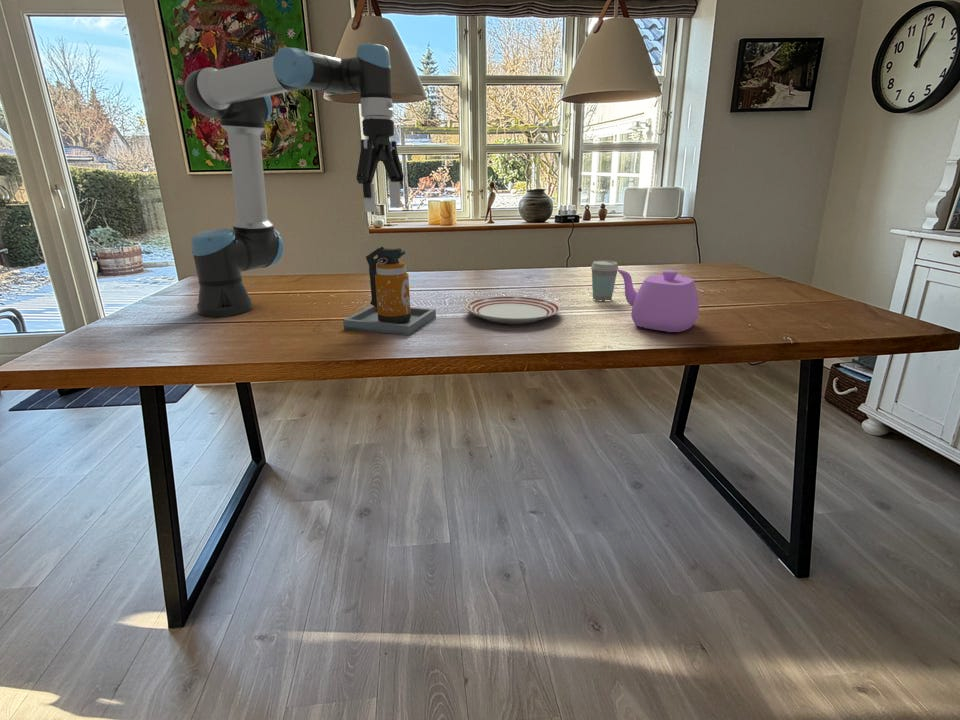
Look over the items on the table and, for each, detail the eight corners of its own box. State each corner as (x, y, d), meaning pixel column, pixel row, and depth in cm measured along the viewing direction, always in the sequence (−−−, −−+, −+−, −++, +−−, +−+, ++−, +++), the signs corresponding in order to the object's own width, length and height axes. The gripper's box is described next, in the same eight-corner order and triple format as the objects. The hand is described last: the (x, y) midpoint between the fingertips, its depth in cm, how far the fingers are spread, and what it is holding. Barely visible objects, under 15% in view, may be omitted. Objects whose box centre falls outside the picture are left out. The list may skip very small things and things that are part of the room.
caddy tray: (343, 328, 140) (343, 319, 139) (375, 312, 155) (375, 304, 154) (409, 335, 134) (409, 326, 133) (435, 317, 150) (435, 309, 149)
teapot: (706, 320, 147) (714, 266, 141) (685, 339, 130) (694, 280, 125) (627, 308, 159) (632, 258, 154) (600, 324, 143) (604, 270, 137)
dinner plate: (490, 300, 169) (490, 290, 168) (571, 309, 158) (572, 299, 157) (448, 322, 146) (448, 310, 145) (540, 335, 135) (541, 323, 134)
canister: (404, 326, 139) (400, 250, 132) (365, 323, 141) (359, 249, 134) (415, 316, 147) (411, 245, 140) (378, 315, 150) (372, 244, 142)
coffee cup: (614, 303, 163) (617, 265, 159) (586, 301, 166) (589, 264, 162) (616, 297, 171) (620, 261, 167) (590, 295, 173) (593, 259, 169)
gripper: (365, 114, 114) (372, 214, 122) (413, 121, 136) (417, 206, 144) (335, 115, 116) (344, 213, 124) (387, 122, 139) (392, 205, 146)
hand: (383, 209), depth 134 cm, fingers open, 13 cm apart
